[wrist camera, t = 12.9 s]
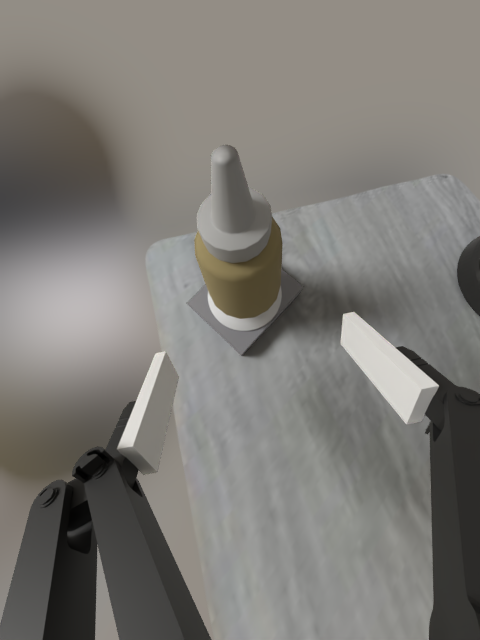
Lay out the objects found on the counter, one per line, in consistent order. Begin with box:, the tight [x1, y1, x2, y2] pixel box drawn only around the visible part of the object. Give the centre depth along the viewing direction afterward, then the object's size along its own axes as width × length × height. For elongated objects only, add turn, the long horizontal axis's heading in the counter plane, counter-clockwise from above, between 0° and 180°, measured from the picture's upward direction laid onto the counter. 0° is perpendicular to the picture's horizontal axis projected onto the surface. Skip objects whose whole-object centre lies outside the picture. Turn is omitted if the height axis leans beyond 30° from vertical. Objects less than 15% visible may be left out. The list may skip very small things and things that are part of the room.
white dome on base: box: [187, 269, 304, 356], centre depth 27 cm, size 12×10×3 cm
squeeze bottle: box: [195, 145, 282, 319], centre depth 17 cm, size 8×8×18 cm
